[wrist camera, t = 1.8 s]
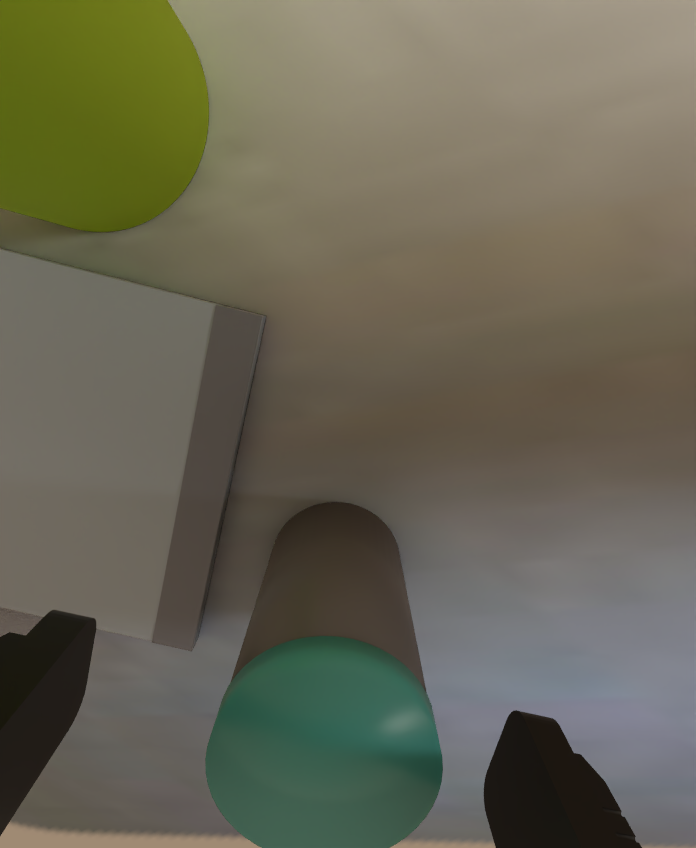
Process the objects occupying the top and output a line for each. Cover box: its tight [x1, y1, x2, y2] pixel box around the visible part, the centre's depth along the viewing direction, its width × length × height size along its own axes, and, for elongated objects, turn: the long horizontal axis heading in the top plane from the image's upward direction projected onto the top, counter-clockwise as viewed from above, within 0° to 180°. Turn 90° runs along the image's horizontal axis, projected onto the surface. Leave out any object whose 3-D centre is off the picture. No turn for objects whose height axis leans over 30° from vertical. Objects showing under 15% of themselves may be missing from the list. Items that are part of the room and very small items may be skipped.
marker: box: [206, 502, 443, 848], centre depth 12 cm, size 4×4×7 cm
